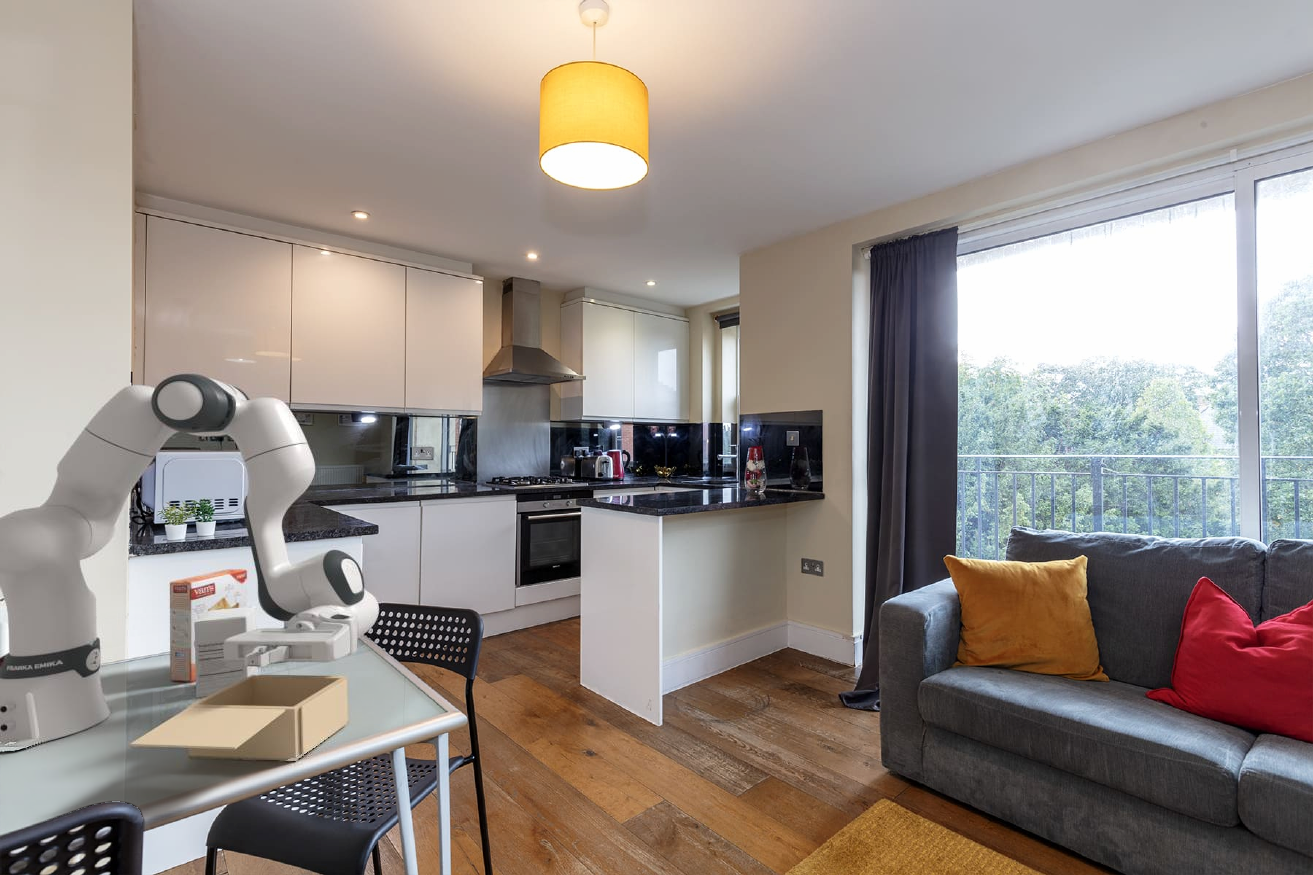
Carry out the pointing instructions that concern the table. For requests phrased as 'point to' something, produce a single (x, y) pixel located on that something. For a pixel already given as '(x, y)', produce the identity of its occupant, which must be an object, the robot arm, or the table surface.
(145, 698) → the table surface
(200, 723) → the flap
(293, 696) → the carton
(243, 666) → the supplement box
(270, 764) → the table surface
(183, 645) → the cracker box
